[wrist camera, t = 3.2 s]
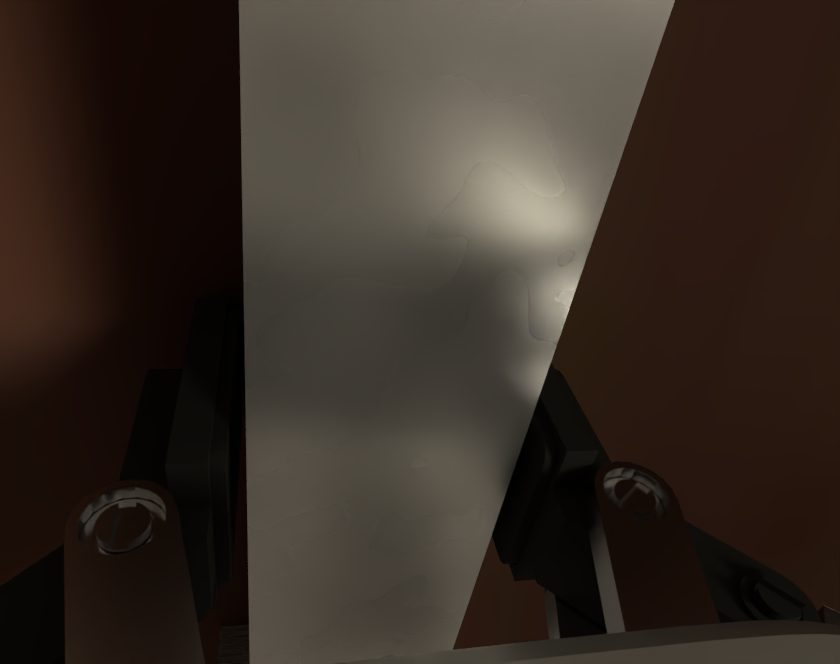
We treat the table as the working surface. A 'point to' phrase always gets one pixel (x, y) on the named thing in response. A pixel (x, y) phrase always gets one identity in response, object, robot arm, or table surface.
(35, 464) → the table surface
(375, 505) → the grey upright bar
